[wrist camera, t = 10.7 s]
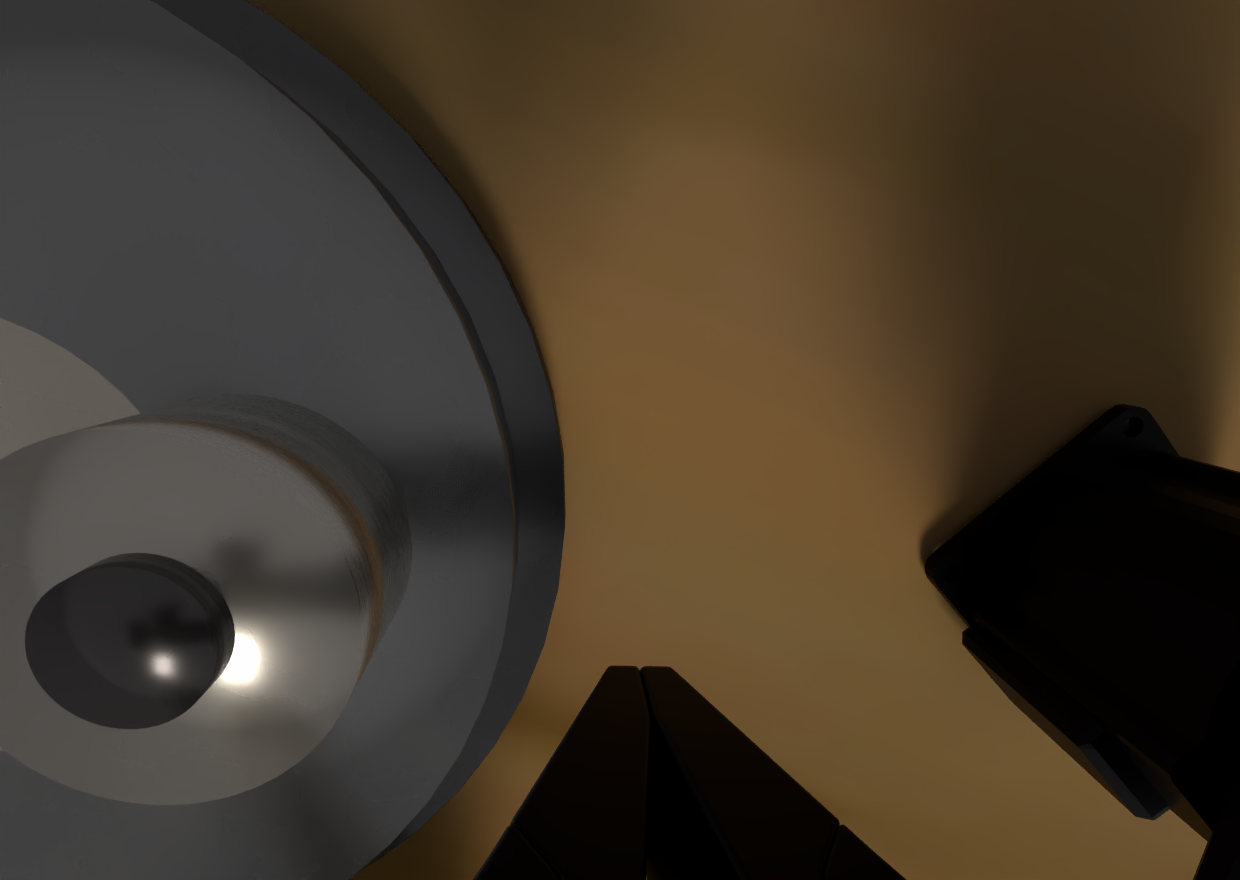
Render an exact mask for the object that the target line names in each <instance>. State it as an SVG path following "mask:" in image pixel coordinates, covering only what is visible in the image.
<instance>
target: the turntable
mask: <svg viewBox="0 0 1240 880" xmlns="http://www.w3.org/2000/svg"><path fill="white" fill-rule="evenodd" d="M224 394H252V395H260V396H266V397H272V398H278V399H281V400H285V401H288V402H292V403H295V404H298V405H301V406H303V407H305V408H308V409H310V410H313V411H315V412H317V413H319V414H321V415H323V416H325V417H326V418H328V419H330V420H332V421H333V422H335V423H337V424H338V425H340V426H341V427H343V428H344V429H345V430H347V431H348V432H349V433H351V434H352V435H353V436H355V437H356V438H357V439H358V440H359V441H360V442H361V443H362V444H363V445H364V446H365V447H367V448H368V449H369V450H370V451H371V452H372V454H373V455H374V456H375V457H376V458H377V460H378V461H379V462H380V463H381V465H382V466H383V467H384V468H385V470H386V472H387V473H388V475H389V476H390V478H391V479H392V481H393V483H394V484H395V486H396V488H397V490H398V493H399V495H400V497H401V499H402V501H403V504H404V507H405V510H406V513H407V517H408V520H409V525H410V531H411V537H412V565H411V573H410V578H409V582H408V586H407V589H406V593H405V596H404V598H403V600H402V602H401V605H400V607H399V609H398V611H397V613H396V615H395V617H394V619H393V620H392V622H391V624H390V626H389V628H388V629H387V631H386V633H385V635H384V637H383V638H382V640H381V642H380V644H379V646H378V648H377V649H376V651H375V653H374V655H373V657H372V658H371V660H370V662H369V664H368V666H367V668H366V669H365V671H364V673H363V675H362V677H361V678H360V680H359V682H358V684H357V686H356V687H355V689H354V691H353V693H352V695H351V697H350V698H349V700H348V702H347V704H346V706H345V707H344V709H343V711H342V712H341V714H340V716H339V717H338V719H337V721H336V722H335V724H334V725H333V727H332V729H331V730H330V731H329V732H328V733H327V735H326V736H325V737H324V738H323V739H322V740H321V742H320V743H319V744H318V745H317V746H316V747H315V748H314V749H313V750H312V751H311V752H310V753H309V754H308V755H306V756H305V757H304V758H303V759H302V760H301V761H300V762H299V763H297V764H296V765H294V766H293V767H291V768H290V769H288V770H287V771H285V772H284V773H282V774H281V775H279V776H278V777H276V778H274V779H272V780H270V781H268V782H266V783H264V784H262V785H260V786H258V787H256V788H253V789H250V790H247V791H245V792H242V793H239V794H237V795H234V796H230V797H225V798H221V799H217V800H213V801H209V802H201V803H193V804H185V805H149V804H137V803H128V802H123V801H117V800H112V799H107V798H102V797H99V796H95V795H92V794H89V793H86V792H82V791H79V790H76V789H73V788H71V787H69V786H66V785H64V784H61V783H59V782H57V781H54V780H52V779H50V778H48V777H46V776H44V775H42V774H40V773H39V772H37V771H35V770H33V769H31V768H29V767H28V766H26V765H24V764H23V763H22V762H20V761H19V760H17V759H16V758H14V757H13V756H11V755H10V754H9V753H7V752H6V751H4V750H3V749H2V748H1V747H0V880H349V879H350V878H351V877H352V876H354V875H355V874H356V873H357V872H358V871H359V870H361V869H362V868H363V867H364V866H365V865H366V864H368V863H369V862H370V861H371V860H372V859H373V858H375V857H376V856H377V855H378V854H379V853H381V852H382V851H383V850H384V849H385V848H386V847H388V846H389V845H390V844H391V843H392V842H393V841H394V839H395V838H396V837H397V836H398V835H399V834H400V833H401V832H402V831H403V829H404V828H405V827H406V826H407V825H408V824H409V823H410V822H411V820H412V819H413V818H414V817H415V816H416V815H417V814H418V813H419V811H420V810H421V809H422V808H423V807H424V806H425V805H426V804H427V802H428V801H429V800H430V798H431V797H432V795H433V794H434V792H435V791H436V789H437V788H438V786H439V785H440V783H441V782H442V780H443V779H444V777H445V776H446V774H447V773H448V771H449V770H450V768H451V767H452V765H453V764H454V762H455V761H456V759H457V758H458V756H459V755H460V753H461V751H462V749H463V747H464V745H465V743H466V740H467V738H468V736H469V734H470V732H471V730H472V728H473V726H474V724H475V722H476V719H477V717H478V715H479V713H480V711H481V709H482V707H483V705H484V703H485V700H486V697H487V693H488V690H489V687H490V684H491V680H492V677H493V674H494V671H495V668H496V664H497V661H498V658H499V655H500V651H501V648H502V645H503V640H504V635H505V631H506V626H507V622H508V617H509V612H510V606H511V600H512V593H513V587H514V581H515V574H516V568H517V562H518V531H519V496H518V488H517V479H516V471H515V463H514V455H513V447H512V439H511V435H510V431H509V428H508V424H507V420H506V416H505V412H504V408H503V405H502V401H501V397H500V393H499V389H498V385H497V382H496V378H495V375H494V373H493V370H492V368H491V365H490V363H489V360H488V358H487V356H486V353H485V351H484V348H483V346H482V343H481V341H480V338H479V336H478V333H477V331H476V328H475V326H474V323H473V321H472V319H471V316H470V314H469V312H468V310H467V309H466V307H465V305H464V303H463V302H462V300H461V298H460V296H459V294H458V293H457V291H456V289H455V287H454V286H453V284H452V282H451V280H450V278H449V277H448V275H447V273H446V271H445V269H444V268H443V266H442V264H441V262H440V261H439V259H438V257H437V255H436V253H435V252H434V251H433V249H432V248H431V247H430V245H429V244H428V242H427V241H426V240H425V238H424V237H423V236H422V234H421V233H420V232H419V230H418V229H417V228H416V226H415V225H414V223H413V222H412V221H411V219H410V218H409V217H408V215H407V214H406V213H405V211H404V210H403V208H402V207H401V206H400V204H399V203H398V202H397V200H396V199H395V198H394V196H393V195H392V193H391V192H390V191H389V190H388V189H387V188H386V187H385V186H384V185H383V184H382V183H381V182H380V181H379V180H378V178H377V177H376V176H375V175H374V174H373V173H372V172H371V171H370V170H369V169H368V168H367V167H366V166H365V165H364V164H363V162H362V161H361V160H360V159H359V158H358V157H357V156H356V155H355V154H354V153H353V152H352V151H351V150H350V149H349V148H348V146H347V145H346V144H345V143H344V142H343V141H342V140H341V139H340V138H339V137H338V136H337V135H336V134H335V133H333V132H332V131H331V130H330V129H329V128H327V127H326V126H325V125H324V124H323V123H321V122H320V121H319V120H318V119H317V118H316V117H314V116H313V115H312V114H311V113H310V112H308V111H307V110H306V109H305V108H304V107H303V106H301V105H300V104H299V103H298V102H297V101H295V100H294V99H293V98H292V97H291V96H289V95H288V94H287V93H286V92H285V91H284V90H282V89H281V88H280V87H279V86H278V85H276V84H275V83H274V82H272V81H271V80H269V79H268V78H267V77H265V76H264V75H262V74H261V73H259V72H258V71H257V70H255V69H254V68H252V67H251V66H250V65H248V64H247V63H245V62H244V61H243V60H241V59H240V58H238V57H237V56H235V55H234V54H232V53H231V52H229V51H228V50H226V49H225V48H223V47H222V46H220V45H219V44H217V43H216V42H214V41H213V40H211V39H210V38H208V37H207V36H205V35H204V34H202V33H201V32H199V31H198V30H196V29H195V28H193V27H191V26H190V25H188V24H187V23H185V22H184V21H182V20H181V19H179V18H178V17H176V16H175V15H173V14H172V13H170V12H169V11H167V10H166V9H164V8H163V7H161V6H160V5H158V4H156V3H154V2H152V1H150V0H0V459H2V458H4V457H6V456H8V455H9V454H11V453H13V452H15V451H17V450H19V449H21V448H22V447H25V446H28V445H31V444H33V443H36V442H39V441H42V440H44V439H47V438H50V437H53V436H57V435H61V434H65V433H68V432H72V431H76V430H80V429H83V428H87V427H91V426H95V425H98V424H102V423H106V422H110V421H113V420H117V419H121V418H125V417H128V416H132V415H136V414H140V413H143V412H147V411H151V410H155V409H158V408H162V407H166V406H170V405H173V404H177V403H181V402H185V401H188V400H193V399H197V398H202V397H206V396H213V395H224Z"/></svg>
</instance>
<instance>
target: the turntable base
mask: <svg viewBox="0 0 1240 880" xmlns="http://www.w3.org/2000/svg"><path fill="white" fill-rule="evenodd" d="M150 1H152V2H154V3H156V4H158V5H160V6H161V7H163V8H164V9H166V10H167V11H169V12H170V13H172V14H173V15H175V16H176V17H178V18H179V19H181V20H182V21H184V22H185V23H187V24H188V25H190V26H191V27H193V28H195V29H196V30H198V31H199V32H201V33H202V34H204V35H205V36H207V37H208V38H210V39H211V40H213V41H214V42H216V43H217V44H219V45H220V46H222V47H223V48H225V49H226V50H228V51H229V52H231V53H232V54H234V55H235V56H237V57H238V58H240V59H241V60H243V61H244V62H245V63H247V64H248V65H250V66H251V67H252V68H254V69H255V70H257V71H258V72H259V73H261V74H262V75H264V76H265V77H267V78H268V79H269V80H271V81H272V82H274V83H275V84H276V85H278V86H279V87H280V88H281V89H282V90H284V91H285V92H286V93H287V94H288V95H289V96H291V97H292V98H293V99H294V100H295V101H297V102H298V103H299V104H300V105H301V106H303V107H304V108H305V109H306V110H307V111H308V112H310V113H311V114H312V115H313V116H314V117H316V118H317V119H318V120H319V121H320V122H321V123H323V124H324V125H325V126H326V127H327V128H329V129H330V130H331V131H332V132H333V133H335V134H336V135H337V136H338V137H339V138H340V139H341V140H342V141H343V142H344V143H345V144H346V145H347V146H348V148H349V149H350V150H351V151H352V152H353V153H354V154H355V155H356V156H357V157H358V158H359V159H360V160H361V161H362V162H363V164H364V165H365V166H366V167H367V168H368V169H369V170H370V171H371V172H372V173H373V174H374V175H375V176H376V177H377V178H378V180H379V181H380V182H381V183H382V184H383V185H384V186H385V187H386V188H387V189H388V190H389V191H390V192H391V193H392V195H393V196H394V198H395V199H396V200H397V202H398V203H399V204H400V206H401V207H402V208H403V210H404V211H405V213H406V214H407V215H408V217H409V218H410V219H411V221H412V222H413V223H414V225H415V226H416V228H417V229H418V230H419V232H420V233H421V234H422V236H423V237H424V238H425V240H426V241H427V242H428V244H429V245H430V247H431V248H432V249H433V251H434V252H435V253H436V255H437V257H438V259H439V261H440V262H441V264H442V266H443V268H444V269H445V271H446V273H447V275H448V277H449V278H450V280H451V282H452V284H453V286H454V287H455V289H456V291H457V293H458V294H459V296H460V298H461V300H462V302H463V303H464V305H465V307H466V309H467V310H468V312H469V314H470V316H471V319H472V321H473V323H474V326H475V328H476V331H477V333H478V336H479V338H480V341H481V343H482V346H483V348H484V351H485V353H486V356H487V358H488V360H489V363H490V365H491V368H492V370H493V373H494V375H495V378H496V382H497V385H498V389H499V393H500V397H501V401H502V405H503V408H504V412H505V416H506V420H507V424H508V428H509V431H510V435H511V439H512V447H513V455H514V463H515V471H516V479H517V488H518V496H519V531H518V562H517V568H516V574H515V581H514V587H513V593H512V600H511V606H510V612H509V617H508V622H507V626H506V631H505V635H504V640H503V645H502V648H501V651H500V655H499V658H498V661H497V664H496V668H495V671H494V674H493V677H492V680H491V684H490V687H489V690H488V693H487V697H486V700H485V703H484V705H483V707H482V709H481V711H480V713H479V715H478V717H477V719H476V722H475V724H474V726H473V728H472V730H471V732H470V734H469V736H468V738H467V740H466V743H465V745H464V747H463V749H462V751H461V753H460V755H459V756H458V758H457V759H456V761H455V762H454V764H453V765H452V767H451V768H450V770H449V771H448V773H447V774H446V776H445V777H444V779H443V780H442V782H441V783H440V785H439V786H438V788H437V789H436V791H435V792H434V794H433V795H432V797H431V798H430V800H429V801H428V802H427V804H426V805H425V806H424V807H423V808H422V809H421V810H420V811H419V813H418V814H417V815H416V816H415V817H414V818H413V819H412V820H411V822H410V823H409V824H408V825H407V826H406V827H405V828H404V829H403V831H402V832H401V833H400V834H399V835H398V836H397V837H396V838H395V839H394V841H393V842H392V843H391V844H390V845H389V846H388V847H386V848H385V849H384V850H383V851H382V852H381V853H379V854H378V855H377V856H376V857H375V858H373V859H372V860H371V861H370V862H369V863H368V864H366V865H365V866H364V867H363V868H365V867H367V866H368V865H370V864H372V863H374V862H375V861H377V860H378V859H379V858H381V857H382V856H383V855H385V854H386V853H387V852H389V851H390V850H391V849H393V848H394V847H396V846H397V845H398V844H400V843H401V842H402V841H404V840H405V839H406V838H408V837H409V836H410V835H412V834H413V833H414V832H416V831H417V830H418V829H420V828H421V827H422V826H423V825H424V824H425V823H426V822H427V821H428V820H429V819H430V818H431V817H432V816H433V815H434V814H435V813H436V812H437V811H438V810H439V809H440V808H441V807H443V806H444V805H445V804H446V803H447V802H448V801H449V800H450V799H451V798H452V797H453V796H454V795H455V794H456V793H457V792H458V791H459V790H460V789H461V788H462V786H463V785H464V784H465V782H466V781H467V780H468V779H469V777H470V776H471V775H472V774H473V772H474V771H475V770H476V769H477V767H478V766H479V765H480V763H481V762H482V761H483V760H484V758H485V757H486V756H487V755H488V753H489V752H490V751H491V750H492V748H493V747H494V745H495V744H496V742H497V740H498V739H499V737H500V735H501V733H502V732H503V730H504V728H505V727H506V725H507V723H508V722H509V720H510V718H511V716H512V715H513V713H514V711H515V710H516V708H517V706H518V704H519V703H520V701H521V699H522V697H523V695H524V692H525V690H526V688H527V685H528V683H529V680H530V678H531V675H532V673H533V671H534V668H535V666H536V663H537V661H538V658H539V656H540V653H541V651H542V649H543V646H544V643H545V639H546V635H547V631H548V627H549V623H550V619H551V615H552V611H553V607H554V603H555V599H556V595H557V591H558V586H559V576H560V567H561V558H562V548H563V539H564V530H565V514H566V513H565V481H564V453H563V447H562V441H561V435H560V429H559V423H558V417H557V411H556V405H555V399H554V394H553V390H552V386H551V383H550V380H549V377H548V373H547V370H546V367H545V364H544V360H543V357H542V354H541V351H540V347H539V344H538V341H537V338H536V334H535V331H534V328H533V326H532V324H531V322H530V319H529V317H528V315H527V313H526V311H525V308H524V306H523V304H522V302H521V300H520V297H519V295H518V293H517V291H516V289H515V286H514V284H513V282H512V280H511V278H510V275H509V273H508V271H507V269H506V267H505V265H504V263H503V262H502V260H501V258H500V257H499V255H498V254H497V252H496V250H495V249H494V247H493V245H492V244H491V242H490V241H489V239H488V237H487V236H486V234H485V232H484V231H483V229H482V228H481V226H480V224H479V223H478V221H477V219H476V218H475V216H474V214H473V213H472V211H471V210H470V208H469V206H468V205H467V204H466V202H465V201H464V200H463V199H462V197H461V196H460V195H459V193H458V192H457V191H456V190H455V188H454V187H453V186H452V185H451V183H450V182H449V181H448V180H447V178H446V177H445V176H444V175H443V173H442V172H441V171H440V170H439V168H438V167H437V166H436V165H435V163H434V162H433V161H432V160H431V158H430V157H429V156H428V155H427V153H426V152H425V151H424V150H423V148H422V147H421V146H420V145H419V144H418V143H417V142H416V141H415V140H414V139H413V138H412V137H411V136H410V135H409V134H408V133H407V132H406V131H405V130H404V129H403V128H402V127H401V126H400V125H399V124H398V123H397V122H396V121H395V120H394V119H393V118H392V117H391V116H390V115H389V114H388V113H387V112H386V111H385V110H384V109H383V108H382V107H381V106H380V105H379V104H378V103H377V102H375V101H374V100H373V99H372V98H371V97H370V96H369V95H368V94H367V93H366V92H365V91H364V90H363V89H362V88H361V87H360V86H359V85H358V84H357V83H356V82H355V81H354V80H353V79H352V78H351V77H350V76H349V75H348V74H347V73H345V72H344V71H343V70H342V69H340V68H339V67H338V66H336V65H335V64H334V63H333V62H331V61H330V60H329V59H327V58H326V57H325V56H324V55H322V54H321V53H320V52H318V51H317V50H316V49H314V48H313V47H312V46H311V45H309V44H308V43H307V42H305V41H304V40H303V39H302V38H300V37H299V36H298V35H296V34H295V33H294V32H293V31H291V30H290V29H289V28H287V27H286V26H285V25H283V24H282V23H281V22H280V21H278V20H277V19H275V18H273V17H272V16H270V15H268V14H267V13H265V12H263V11H262V10H260V9H258V8H257V7H255V6H253V5H252V4H250V3H248V2H247V1H245V0H150ZM363 868H362V869H363ZM359 871H360V870H359Z"/></svg>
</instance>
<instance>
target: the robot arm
mask: <svg viewBox="0 0 1240 880" xmlns="http://www.w3.org/2000/svg"><path fill="white" fill-rule="evenodd" d="M1128 419H1129V426H1128V428H1127V429H1126V431H1125V432H1124V431H1123V427H1124V424H1125V422H1126V421H1127V420H1128ZM950 564H953V569H952V571H951V572H950V573H949V574H947V575H945V576H943V571H944V569H945V568H946V567H947V566H948V565H950ZM925 574H926V576H927V578H928V579H929V581H930V582H931V583H932V584H933V585H934V586H935V588H936V589H937V590H938V591H939V592H940V594H941V595H942V596H943V597H944V598H945V599H946V601H947V602H948V603H949V604H950V605H951V607H952V608H953V609H954V610H955V611H956V613H957V614H958V615H959V616H960V617H961V618H962V620H963V621H964V622H965V623H966V624H967V626H968V628H967V629H966V630H965V631H963V633H962V644H963V645H964V646H965V648H966V649H967V650H968V651H969V652H970V653H971V655H972V656H973V657H974V658H975V659H976V660H977V662H978V663H979V664H980V665H981V666H982V667H983V669H984V670H985V671H986V672H987V673H988V674H989V676H990V677H991V678H992V679H993V680H994V682H995V683H996V684H997V685H998V686H999V687H1000V689H1001V690H1002V691H1003V692H1004V693H1005V694H1006V696H1007V697H1008V698H1009V699H1010V700H1011V701H1012V702H1013V703H1014V704H1015V705H1016V706H1017V707H1018V708H1019V709H1020V710H1021V711H1022V712H1023V713H1024V714H1025V715H1027V716H1028V717H1029V718H1030V719H1031V720H1032V721H1033V722H1034V723H1035V724H1036V725H1037V726H1038V727H1039V728H1041V729H1042V730H1043V731H1044V732H1045V733H1046V734H1047V735H1048V736H1049V737H1050V738H1051V739H1052V740H1053V741H1055V742H1056V743H1057V744H1058V745H1059V746H1060V747H1061V748H1062V749H1063V750H1064V751H1065V752H1066V753H1068V754H1069V755H1070V756H1071V757H1072V758H1073V759H1074V760H1075V761H1076V762H1077V763H1078V764H1079V765H1080V766H1082V767H1083V768H1084V769H1085V770H1086V771H1087V772H1088V773H1089V774H1090V775H1091V776H1092V777H1093V778H1094V779H1096V780H1097V781H1098V782H1099V783H1100V784H1101V785H1102V786H1103V787H1104V788H1105V789H1106V790H1107V791H1108V792H1110V793H1111V794H1112V795H1113V796H1114V797H1115V798H1116V799H1117V800H1118V801H1119V802H1120V803H1121V804H1122V805H1124V806H1125V807H1126V808H1127V809H1128V810H1129V811H1130V812H1131V813H1132V814H1133V815H1134V816H1136V817H1140V818H1145V819H1150V820H1155V819H1157V818H1158V817H1159V816H1161V815H1162V814H1164V813H1165V812H1166V811H1168V810H1169V809H1170V810H1172V811H1173V812H1174V813H1175V814H1176V815H1177V816H1179V817H1180V818H1181V819H1182V820H1183V821H1184V822H1185V823H1187V824H1188V825H1189V826H1190V827H1191V828H1192V829H1194V830H1195V831H1196V832H1197V833H1198V834H1199V835H1201V836H1202V837H1203V838H1204V839H1205V840H1206V841H1208V842H1207V845H1206V848H1205V850H1204V853H1203V855H1202V858H1201V860H1200V863H1199V865H1198V868H1197V870H1196V873H1195V876H1194V878H1193V880H1240V472H1238V471H1234V470H1230V469H1226V468H1223V467H1219V466H1215V465H1211V464H1207V463H1203V462H1200V461H1196V460H1192V459H1188V458H1184V457H1180V456H1179V455H1178V453H1177V452H1176V450H1175V449H1174V447H1173V446H1172V444H1171V443H1170V441H1169V440H1168V439H1167V437H1166V436H1165V434H1164V433H1163V431H1162V430H1161V428H1160V427H1159V425H1158V424H1157V422H1156V421H1155V420H1154V418H1153V417H1152V415H1151V414H1150V413H1149V412H1148V411H1147V410H1146V409H1144V408H1141V407H1136V406H1131V405H1126V404H1121V405H1116V406H1114V407H1112V408H1111V409H1109V410H1108V411H1107V412H1105V413H1104V414H1103V415H1102V416H1100V417H1099V418H1098V419H1097V420H1096V421H1094V422H1093V423H1092V424H1091V425H1089V426H1088V427H1087V428H1086V429H1085V430H1083V431H1082V432H1081V433H1080V434H1078V435H1077V436H1076V437H1075V438H1073V439H1072V440H1071V441H1070V442H1069V443H1067V444H1066V445H1065V446H1064V447H1062V448H1061V449H1060V450H1059V451H1058V452H1056V453H1055V454H1054V455H1053V456H1051V457H1050V458H1049V459H1048V460H1047V461H1045V462H1044V463H1043V464H1042V465H1040V466H1039V467H1038V468H1037V469H1035V470H1034V471H1033V472H1032V473H1031V474H1029V475H1028V476H1027V477H1026V478H1024V479H1023V480H1022V481H1021V482H1020V483H1018V484H1017V485H1016V486H1015V487H1013V488H1012V489H1011V490H1010V491H1008V492H1007V493H1006V494H1005V495H1004V496H1002V497H1001V498H1000V499H999V500H997V501H996V502H995V503H994V504H993V505H991V506H990V507H989V508H988V509H986V510H985V511H984V512H983V513H982V514H980V515H979V516H978V517H977V518H975V519H974V520H973V521H972V522H970V523H969V524H968V525H967V526H966V527H964V528H963V529H962V530H961V531H959V532H958V533H957V534H956V535H955V536H953V537H952V538H951V539H950V540H948V541H947V542H946V543H945V544H944V545H942V546H941V547H940V548H939V549H937V550H936V551H935V552H934V553H933V554H932V555H931V556H930V557H929V558H928V559H927V562H926V565H925ZM646 876H647V880H906V879H905V878H904V877H903V876H902V875H900V874H899V873H898V872H897V871H896V870H895V869H893V868H892V867H891V866H890V865H889V864H888V863H887V862H885V861H884V860H883V859H882V858H881V857H880V856H879V855H877V854H876V853H875V852H874V851H873V850H872V849H870V848H869V847H868V846H867V845H866V844H865V843H864V842H863V841H862V840H861V839H859V838H858V837H857V836H856V835H855V834H854V833H853V832H852V831H851V830H850V829H848V828H847V827H846V826H845V825H840V823H839V820H838V819H837V818H836V817H835V816H834V815H833V814H832V813H831V812H829V811H828V810H827V809H826V808H825V807H824V806H823V805H822V804H821V803H820V802H818V801H817V800H816V799H815V798H814V797H813V796H812V795H811V794H810V793H809V792H807V791H806V790H805V789H804V788H803V787H802V786H801V785H800V784H799V783H798V782H796V781H795V780H794V779H793V778H792V777H791V776H790V775H789V774H788V773H787V772H785V771H784V770H783V769H782V768H781V767H780V766H779V765H778V764H777V763H776V762H775V761H773V760H772V759H771V758H770V757H769V756H768V755H767V754H766V753H765V752H764V751H762V750H761V749H760V748H759V747H758V746H757V745H756V744H755V743H754V742H753V741H751V740H750V739H749V738H748V737H747V736H746V735H745V734H744V733H743V732H742V731H740V730H739V729H738V728H737V727H736V726H735V725H734V724H733V723H732V722H731V721H730V720H728V719H727V718H726V717H725V716H724V715H723V714H722V713H721V712H720V711H719V710H717V709H716V708H715V707H714V706H713V705H712V704H711V703H710V702H709V701H708V700H706V699H705V698H704V697H703V696H702V695H701V694H700V693H699V692H698V691H697V690H695V689H694V688H693V687H692V686H691V685H690V684H689V683H688V682H687V681H686V680H684V679H683V678H682V677H681V676H680V675H679V674H678V673H677V672H676V671H675V670H674V669H672V668H671V667H667V666H645V667H642V668H641V669H640V670H639V669H638V668H637V667H636V666H610V667H608V668H607V669H606V671H605V672H604V674H603V676H602V677H601V679H600V680H599V682H598V684H597V685H596V687H595V688H594V690H593V692H592V693H591V695H590V696H589V698H588V700H587V701H586V703H585V704H584V706H583V708H582V709H581V711H580V712H579V714H578V716H577V717H576V719H575V720H574V722H573V724H572V725H571V727H570V728H569V730H568V732H567V733H566V735H565V736H564V738H563V739H562V741H561V743H560V744H559V746H558V747H557V749H556V751H555V752H554V754H553V755H552V757H551V759H550V760H549V762H548V763H547V765H546V767H545V768H544V770H543V771H542V773H541V775H540V776H539V778H538V779H537V781H536V783H535V784H534V786H533V787H532V789H531V791H530V792H529V794H528V795H527V797H526V799H525V800H524V802H523V803H522V805H521V807H520V808H519V810H518V811H517V813H516V815H515V816H514V818H513V819H512V821H511V824H510V826H508V827H507V828H506V830H505V832H504V833H503V835H502V836H501V838H500V840H499V841H498V843H497V844H496V846H495V847H494V849H493V851H492V852H491V854H490V855H489V857H488V858H487V860H486V861H485V863H484V864H483V866H482V867H481V868H480V870H479V871H478V873H477V874H476V876H475V877H474V879H473V880H646Z"/></svg>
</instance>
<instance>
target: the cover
mask: <svg viewBox="0 0 1240 880" xmlns="http://www.w3.org/2000/svg"><path fill="white" fill-rule="evenodd" d="M411 565H412V537H411V531H410V525H409V520H408V517H407V513H406V510H405V507H404V504H403V501H402V499H401V497H400V495H399V493H398V490H397V488H396V486H395V484H394V483H393V481H392V479H391V478H390V476H389V475H388V473H387V472H386V470H385V468H384V467H383V466H382V465H381V463H380V462H379V461H378V460H377V458H376V457H375V456H374V455H373V454H372V452H371V451H370V450H369V449H368V448H367V447H365V446H364V445H363V444H362V443H361V442H360V441H359V440H358V439H357V438H356V437H355V436H353V435H352V434H351V433H349V432H348V431H347V430H345V429H344V428H343V427H341V426H340V425H338V424H337V423H335V422H333V421H332V420H330V419H328V418H326V417H325V416H323V415H321V414H319V413H317V412H315V411H313V410H310V409H308V408H305V407H303V406H301V405H298V404H295V403H292V402H288V401H285V400H281V399H278V398H272V397H266V396H260V395H252V394H224V395H213V396H206V397H202V398H197V399H193V400H188V401H185V402H181V403H177V404H173V405H170V406H166V407H162V408H158V409H155V410H151V411H147V412H143V413H140V414H136V415H132V416H128V417H125V418H121V419H117V420H113V421H110V422H106V423H102V424H98V425H95V426H91V427H87V428H83V429H80V430H76V431H72V432H68V433H65V434H61V435H57V436H53V437H50V438H47V439H44V440H42V441H39V442H36V443H33V444H31V445H28V446H25V447H22V448H21V449H19V450H17V451H15V452H13V453H11V454H9V455H8V456H6V457H4V458H2V459H0V747H1V748H2V749H3V750H4V751H6V752H7V753H9V754H10V755H11V756H13V757H14V758H16V759H17V760H19V761H20V762H22V763H23V764H24V765H26V766H28V767H29V768H31V769H33V770H35V771H37V772H39V773H40V774H42V775H44V776H46V777H48V778H50V779H52V780H54V781H57V782H59V783H61V784H64V785H66V786H69V787H71V788H73V789H76V790H79V791H82V792H86V793H89V794H92V795H95V796H99V797H102V798H107V799H112V800H117V801H123V802H128V803H137V804H149V805H185V804H193V803H201V802H209V801H213V800H217V799H221V798H225V797H230V796H234V795H237V794H239V793H242V792H245V791H247V790H250V789H253V788H256V787H258V786H260V785H262V784H264V783H266V782H268V781H270V780H272V779H274V778H276V777H278V776H279V775H281V774H282V773H284V772H285V771H287V770H288V769H290V768H291V767H293V766H294V765H296V764H297V763H299V762H300V761H301V760H302V759H303V758H304V757H305V756H306V755H308V754H309V753H310V752H311V751H312V750H313V749H314V748H315V747H316V746H317V745H318V744H319V743H320V742H321V740H322V739H323V738H324V737H325V736H326V735H327V733H328V732H329V731H330V730H331V729H332V727H333V725H334V724H335V722H336V721H337V719H338V717H339V716H340V714H341V712H342V711H343V709H344V707H345V706H346V704H347V702H348V700H349V698H350V697H351V695H352V693H353V691H354V689H355V687H356V686H357V684H358V682H359V680H360V678H361V677H362V675H363V673H364V671H365V669H366V668H367V666H368V664H369V662H370V660H371V658H372V657H373V655H374V653H375V651H376V649H377V648H378V646H379V644H380V642H381V640H382V638H383V637H384V635H385V633H386V631H387V629H388V628H389V626H390V624H391V622H392V620H393V619H394V617H395V615H396V613H397V611H398V609H399V607H400V605H401V602H402V600H403V598H404V596H405V593H406V589H407V586H408V582H409V578H410V573H411Z"/></svg>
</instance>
